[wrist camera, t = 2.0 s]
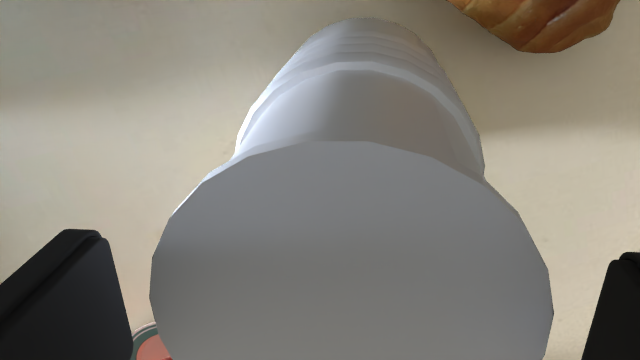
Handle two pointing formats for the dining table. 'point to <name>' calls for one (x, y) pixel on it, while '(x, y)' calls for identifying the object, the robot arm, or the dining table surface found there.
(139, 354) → the apple
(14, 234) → the dining table surface
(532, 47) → the pastry
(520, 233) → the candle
